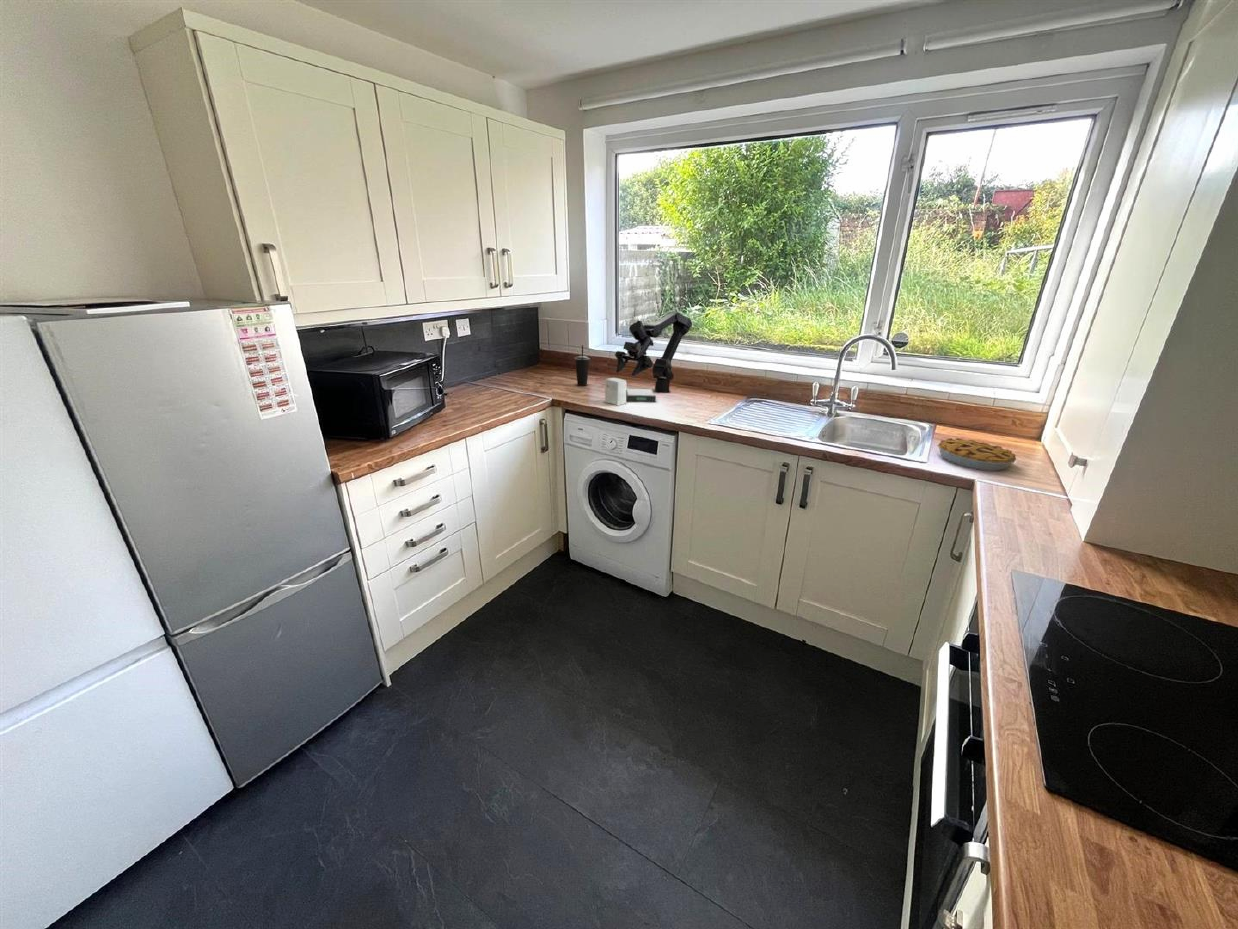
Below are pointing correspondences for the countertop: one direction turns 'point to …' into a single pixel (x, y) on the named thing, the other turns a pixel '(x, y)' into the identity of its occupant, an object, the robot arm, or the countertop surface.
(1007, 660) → the countertop surface
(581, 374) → the drinking cup
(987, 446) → the pie
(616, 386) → the small box
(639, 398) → the kitchen scale
